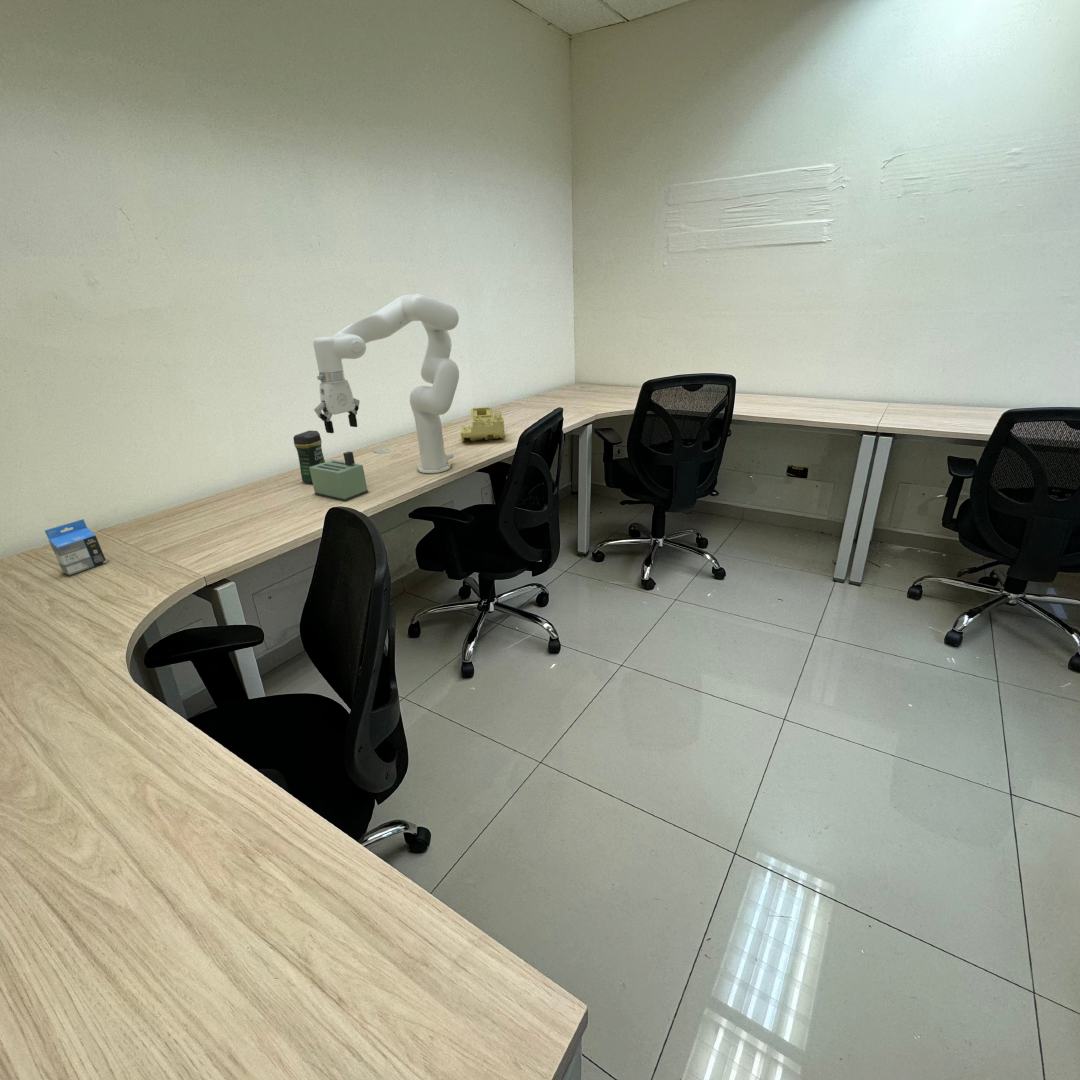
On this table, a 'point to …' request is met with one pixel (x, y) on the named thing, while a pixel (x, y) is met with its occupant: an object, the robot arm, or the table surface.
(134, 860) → the table surface
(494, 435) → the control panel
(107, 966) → the table surface
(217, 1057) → the table surface
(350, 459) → the slider
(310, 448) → the coffee jar
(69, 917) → the table surface
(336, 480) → the toaster
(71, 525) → the tape cartridge
